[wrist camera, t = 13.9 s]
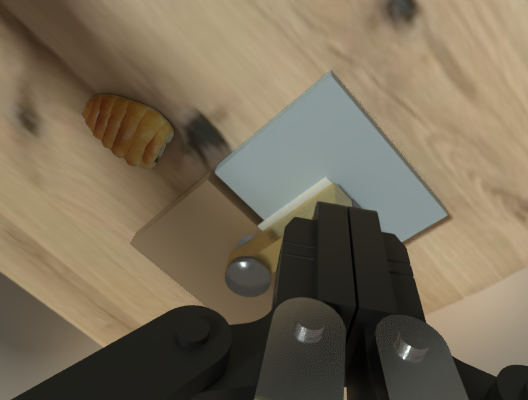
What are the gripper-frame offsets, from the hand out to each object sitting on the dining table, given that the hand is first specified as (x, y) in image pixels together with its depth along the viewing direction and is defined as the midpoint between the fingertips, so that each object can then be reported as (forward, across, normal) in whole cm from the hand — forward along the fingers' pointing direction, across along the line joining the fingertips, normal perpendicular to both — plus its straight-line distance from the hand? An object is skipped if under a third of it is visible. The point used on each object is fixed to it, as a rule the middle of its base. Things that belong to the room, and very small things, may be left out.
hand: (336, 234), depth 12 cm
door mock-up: (+35, +1, +24) cm, 42 cm away
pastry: (+35, +18, +15) cm, 42 cm away
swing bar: (+32, 0, +22) cm, 39 cm away
